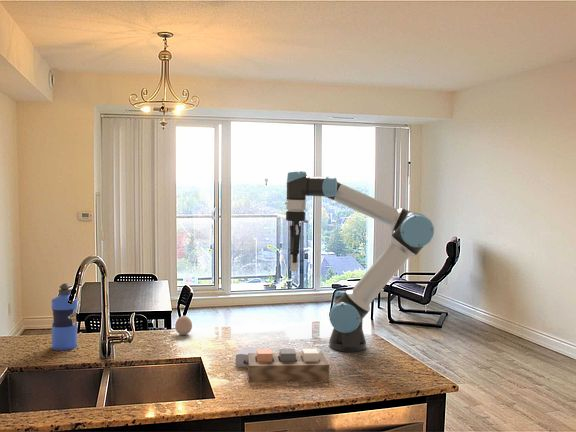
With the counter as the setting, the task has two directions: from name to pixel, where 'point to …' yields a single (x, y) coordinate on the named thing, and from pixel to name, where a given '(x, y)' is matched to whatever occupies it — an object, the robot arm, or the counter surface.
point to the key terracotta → (264, 355)
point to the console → (287, 369)
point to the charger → (244, 355)
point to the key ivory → (310, 355)
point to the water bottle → (64, 321)
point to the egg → (183, 325)
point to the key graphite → (287, 355)
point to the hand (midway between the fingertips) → (294, 270)
